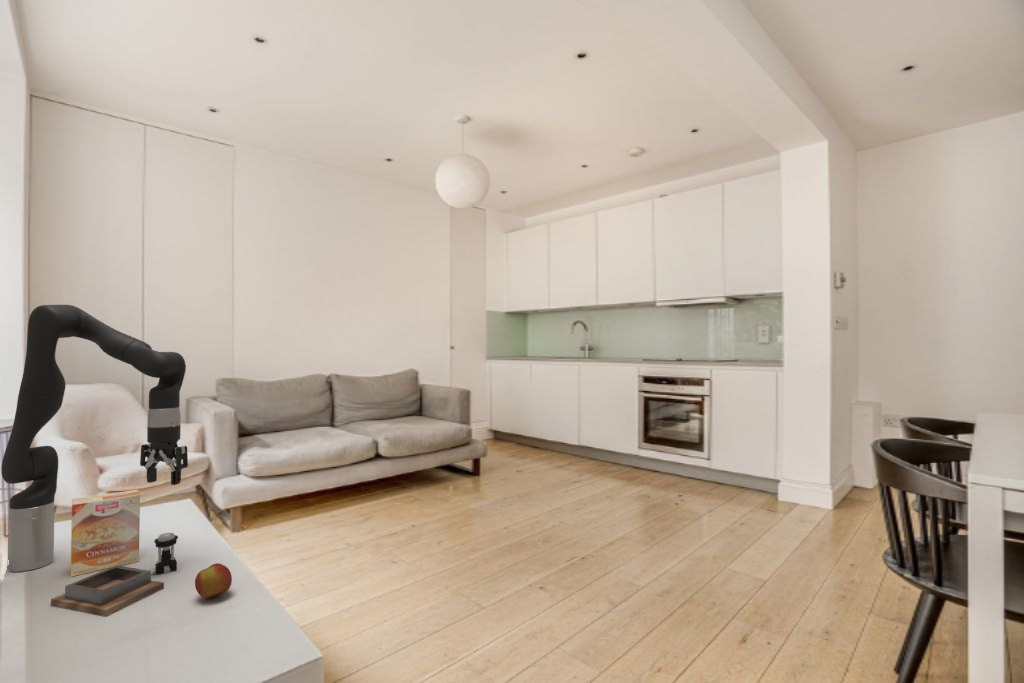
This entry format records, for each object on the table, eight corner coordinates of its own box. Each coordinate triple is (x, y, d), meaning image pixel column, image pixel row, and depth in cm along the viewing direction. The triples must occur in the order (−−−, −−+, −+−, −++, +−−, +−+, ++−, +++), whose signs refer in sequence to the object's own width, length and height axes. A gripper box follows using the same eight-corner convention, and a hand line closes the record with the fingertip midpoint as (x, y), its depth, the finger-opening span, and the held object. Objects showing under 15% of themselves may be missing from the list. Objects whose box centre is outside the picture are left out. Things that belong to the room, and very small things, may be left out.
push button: (149, 579, 133) (149, 541, 133) (146, 572, 137) (147, 536, 137) (179, 571, 137) (179, 535, 137) (175, 565, 141) (176, 530, 141)
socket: (64, 598, 119) (65, 586, 119) (116, 576, 131) (116, 565, 131) (101, 605, 116) (101, 592, 116) (150, 582, 128) (151, 570, 128)
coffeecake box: (70, 577, 134) (71, 504, 134) (70, 568, 139) (71, 498, 140) (139, 561, 144) (140, 493, 144) (137, 554, 149) (138, 488, 149)
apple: (225, 586, 129) (226, 555, 129) (235, 597, 123) (235, 564, 123) (191, 596, 123) (191, 564, 124) (199, 608, 118) (200, 574, 118)
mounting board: (50, 605, 119) (50, 599, 119) (112, 579, 133) (112, 573, 133) (105, 616, 114) (106, 610, 114) (163, 588, 128) (163, 582, 128)
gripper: (131, 425, 136) (130, 484, 136) (171, 427, 132) (170, 488, 132) (157, 421, 143) (157, 478, 143) (196, 423, 139) (196, 481, 139)
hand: (163, 483), depth 137 cm, fingers open, 8 cm apart
